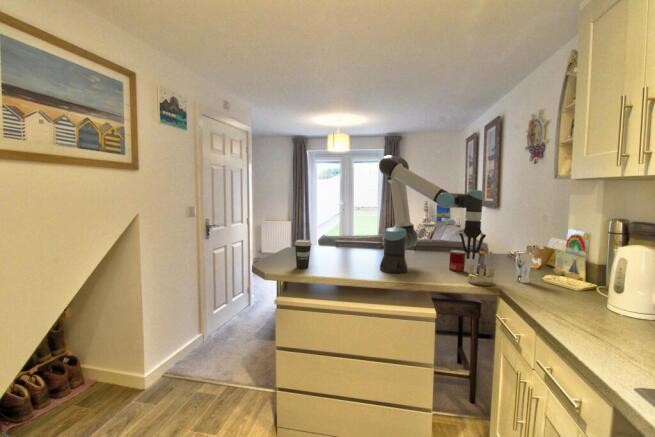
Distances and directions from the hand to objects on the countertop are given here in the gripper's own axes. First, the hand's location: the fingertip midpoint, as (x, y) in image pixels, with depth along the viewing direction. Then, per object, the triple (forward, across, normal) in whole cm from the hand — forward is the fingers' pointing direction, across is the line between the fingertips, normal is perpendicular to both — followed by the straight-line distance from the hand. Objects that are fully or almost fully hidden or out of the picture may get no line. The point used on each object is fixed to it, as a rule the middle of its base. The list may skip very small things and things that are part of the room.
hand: (470, 265), depth 169 cm
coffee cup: (+7, -87, -16) cm, 89 cm away
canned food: (+7, -5, +15) cm, 17 cm away
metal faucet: (+6, +4, -7) cm, 10 cm away
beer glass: (+7, +25, +2) cm, 26 cm away
